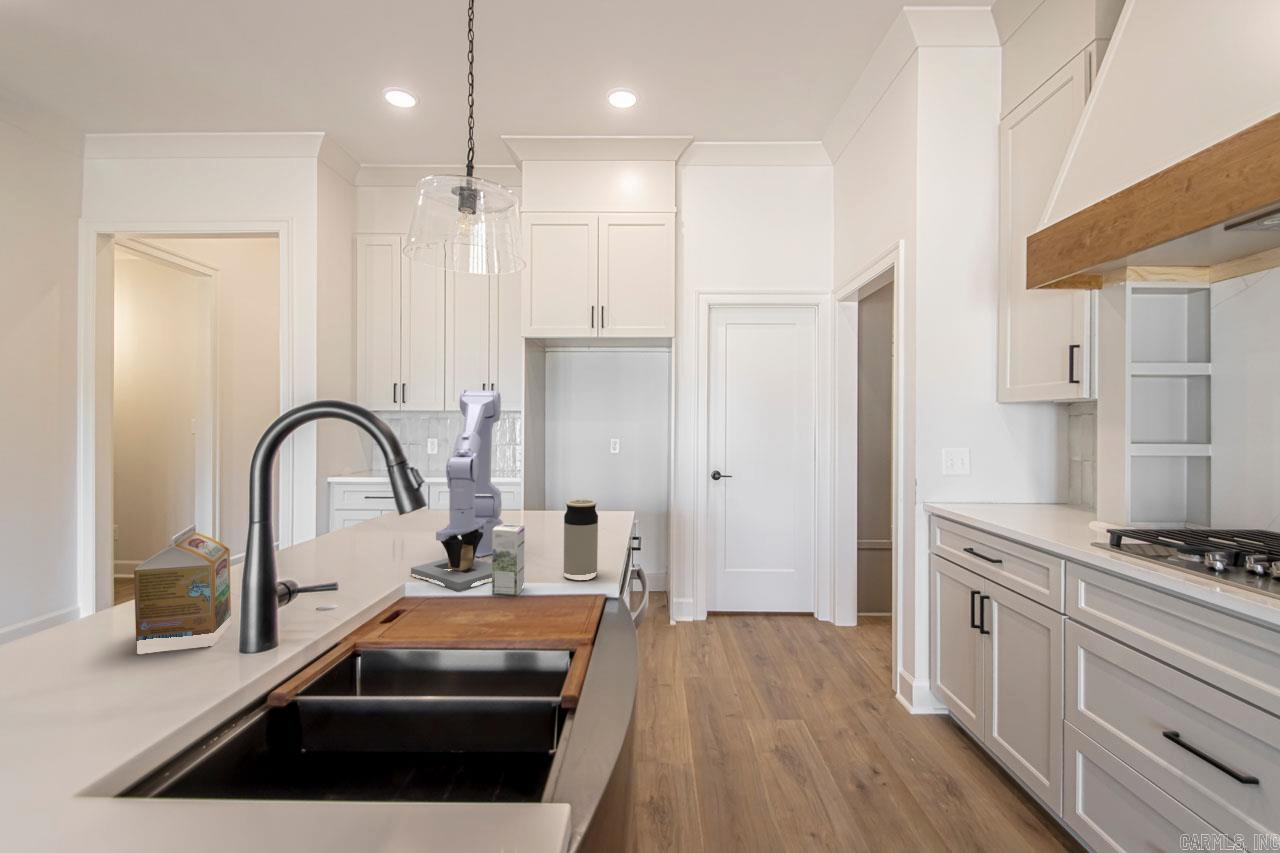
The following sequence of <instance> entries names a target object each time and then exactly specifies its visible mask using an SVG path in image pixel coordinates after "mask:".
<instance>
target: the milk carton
mask: <svg viewBox="0 0 1280 853" xmlns="http://www.w3.org/2000/svg"><path fill="white" fill-rule="evenodd" d="M196 526H197V525H196V524H192V525H190V526H189V527H187V528H185V529H184V530H181V531H180V532H179V533H177V534H175V535H174V536H172V538H171V544H170V545H168V546H166V547H165V548H163V549H162V550H160V551H158V552H157V553H155V554H154V555H152V556H151V557H149V558H148V559H146V560H145V561H143V562H142V563H140V564H139V565H138V566H137V567H136V568H135V569H134V570H133V580H134V587H133V588H134V610H135V611H134V612H135V613H134V614H135V616H134V617H135V642H136V641H139V640H146V639H153V638H169V637H170V638H171V637H183V636H193V635H201V634H209V633H214V632H215V631H216V630H217V629H218V628H219V627H220V626H221V625H222V624H223V623H224V622H225V621H226V620H227V619H228V618H229V617H230V616H231V617H232V612H231V610H232V605H231V603H232V602H231V598H232V597H231V596H232V595H231V560H230V559H231V558H230V557H231V556H230V555H231V554H230V548H229V547H227V545H224V544H223V543H222V542H220V541H218V540H217V539H215V538H212V537H210V536H207V535H205V534H202V533H200V532H197V527H196Z"/></svg>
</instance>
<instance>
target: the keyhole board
mask: <svg viewBox="0 0 1280 853" xmlns="http://www.w3.org/2000/svg"><path fill="white" fill-rule="evenodd" d="M444 569H448V557H447V558H444V559H440V560H435V561H433V562H428V563H423V564H420V565H415V566H412V567H410V575H411V574H415V575H418V576H421V577H425V578H429V579H433V580H437V581H439V582H441V583H443V584H444V585H445V587H444V588H446V589H449V590H453V591H455V592H459V593H460V592H462V591H467V590H469V589H471V588H470V587H471V585H472V584H473V583H475V582H477V581H481V580H485V579H489V578H492V563H489V562H486V561H481V560H478V559H475V558H474V561H473V567H471V568H468V573H463V572H460V571H457V570H450V571H448V570H444Z"/></svg>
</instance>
